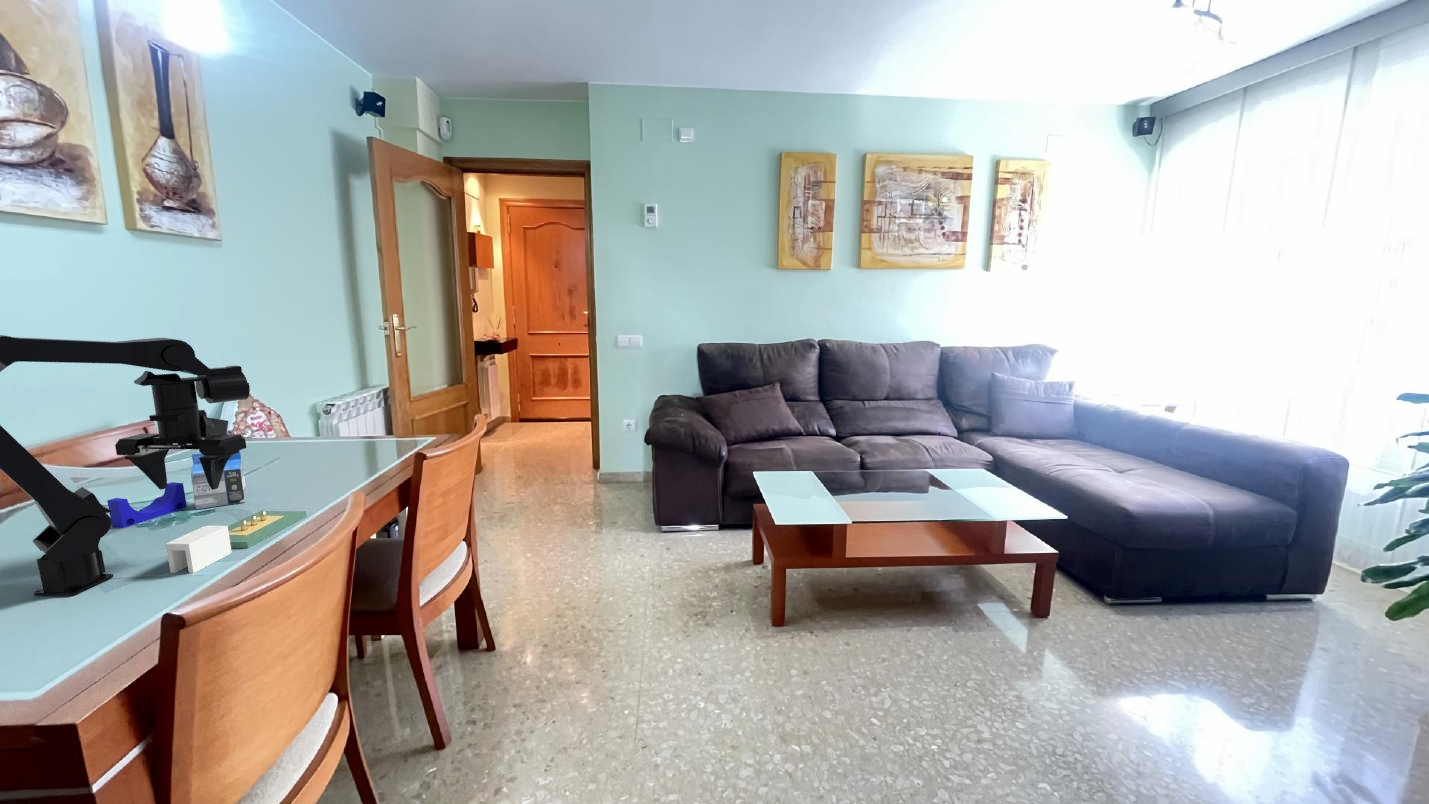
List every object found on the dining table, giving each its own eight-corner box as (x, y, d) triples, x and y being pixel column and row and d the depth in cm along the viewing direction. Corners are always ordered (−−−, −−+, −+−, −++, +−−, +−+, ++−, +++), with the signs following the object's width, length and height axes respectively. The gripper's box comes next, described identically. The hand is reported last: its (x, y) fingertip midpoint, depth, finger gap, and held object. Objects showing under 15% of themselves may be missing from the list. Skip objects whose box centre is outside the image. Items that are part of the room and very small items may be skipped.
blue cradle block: (171, 506, 129) (167, 481, 128) (187, 508, 128) (183, 483, 127) (106, 526, 117) (101, 499, 116) (123, 528, 116) (118, 501, 115)
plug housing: (193, 573, 98) (188, 544, 97) (170, 573, 98) (165, 543, 97) (231, 552, 106) (227, 525, 105) (210, 552, 106) (206, 525, 105)
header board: (248, 548, 108) (245, 532, 108) (196, 547, 108) (193, 531, 107) (306, 516, 124) (304, 502, 123) (261, 515, 124) (259, 502, 123)
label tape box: (195, 510, 126) (186, 458, 124) (198, 504, 130) (190, 453, 127) (245, 503, 131) (238, 452, 129) (247, 498, 134) (240, 448, 132)
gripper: (263, 400, 110) (272, 476, 113) (163, 399, 109) (175, 475, 112) (216, 411, 99) (227, 494, 102) (105, 409, 98) (120, 494, 101)
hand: (189, 488), depth 104 cm, fingers open, 9 cm apart
